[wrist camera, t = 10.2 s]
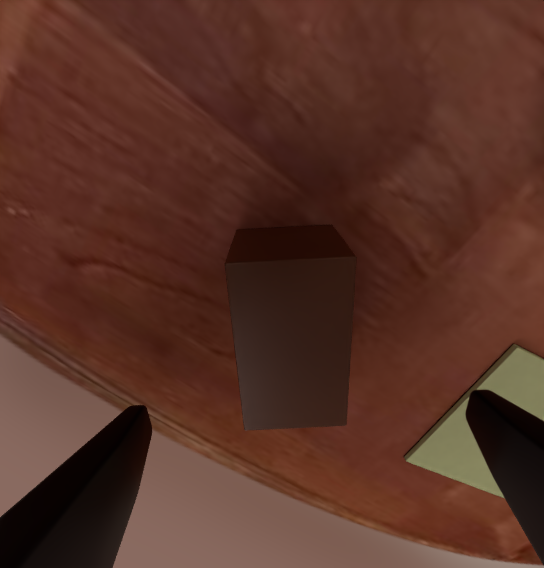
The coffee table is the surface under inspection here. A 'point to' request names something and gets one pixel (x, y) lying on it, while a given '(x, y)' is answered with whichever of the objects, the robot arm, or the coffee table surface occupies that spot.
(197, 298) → the coffee table surface
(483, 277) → the coffee table surface
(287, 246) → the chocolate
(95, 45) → the coffee table surface
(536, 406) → the sticky note pad
